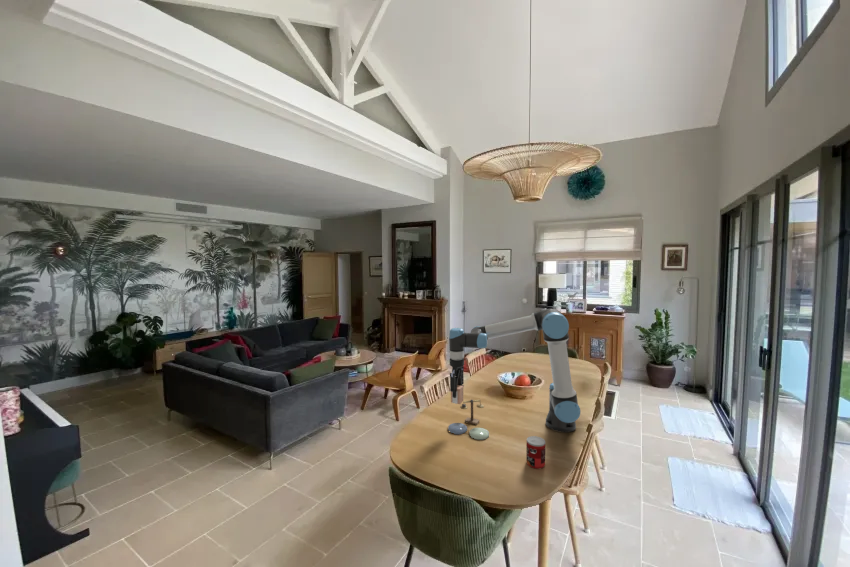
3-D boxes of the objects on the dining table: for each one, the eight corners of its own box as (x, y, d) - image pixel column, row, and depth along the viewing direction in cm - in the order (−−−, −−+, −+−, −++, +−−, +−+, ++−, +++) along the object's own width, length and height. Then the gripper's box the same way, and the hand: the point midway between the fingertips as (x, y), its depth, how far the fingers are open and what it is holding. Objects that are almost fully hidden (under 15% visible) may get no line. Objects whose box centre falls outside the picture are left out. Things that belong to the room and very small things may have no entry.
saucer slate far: (469, 427, 190) (469, 425, 190) (462, 436, 181) (462, 433, 181) (452, 423, 194) (452, 421, 194) (445, 431, 186) (445, 429, 186)
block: (463, 400, 187) (463, 386, 187) (459, 404, 183) (459, 389, 182) (454, 398, 190) (454, 384, 189) (450, 402, 185) (450, 387, 184)
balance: (485, 423, 194) (484, 399, 193) (482, 426, 191) (482, 402, 189) (462, 418, 200) (461, 394, 199) (459, 421, 197) (459, 397, 196)
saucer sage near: (491, 432, 184) (491, 430, 184) (485, 441, 175) (485, 439, 175) (473, 428, 189) (473, 426, 189) (466, 437, 180) (466, 434, 180)
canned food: (523, 459, 160) (523, 436, 159) (540, 458, 160) (541, 435, 159) (530, 470, 152) (530, 445, 151) (548, 468, 153) (548, 444, 152)
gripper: (456, 352, 194) (457, 393, 196) (442, 362, 178) (443, 406, 180) (469, 354, 190) (470, 395, 192) (456, 364, 174) (457, 409, 177)
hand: (457, 400), depth 186 cm, fingers closed on block, 5 cm apart
